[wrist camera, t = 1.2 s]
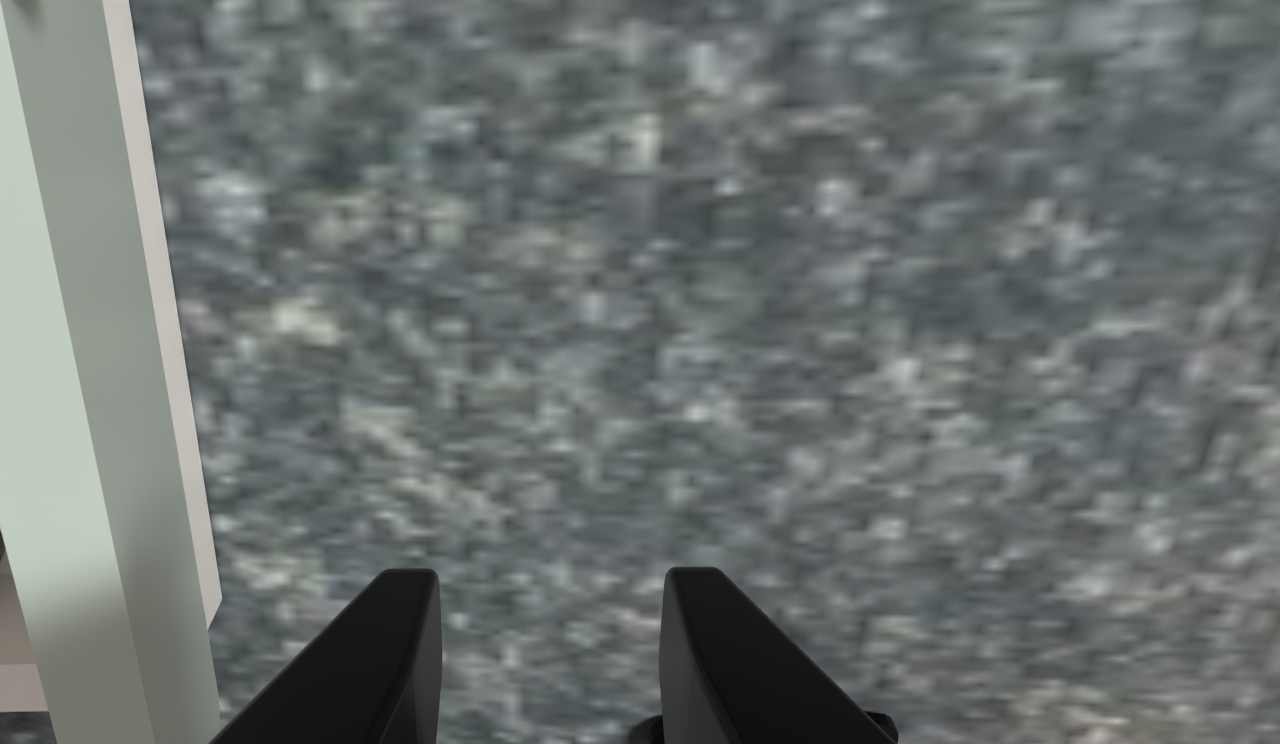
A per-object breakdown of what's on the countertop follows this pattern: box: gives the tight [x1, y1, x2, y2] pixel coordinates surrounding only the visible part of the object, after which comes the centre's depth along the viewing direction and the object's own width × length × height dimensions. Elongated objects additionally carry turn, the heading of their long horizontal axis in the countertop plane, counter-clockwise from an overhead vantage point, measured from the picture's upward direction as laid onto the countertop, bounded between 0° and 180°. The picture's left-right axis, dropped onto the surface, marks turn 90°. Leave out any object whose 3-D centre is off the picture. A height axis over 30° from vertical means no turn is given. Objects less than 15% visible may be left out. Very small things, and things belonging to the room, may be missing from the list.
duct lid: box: [0, 0, 221, 744], centre depth 12 cm, size 20×9×1 cm
